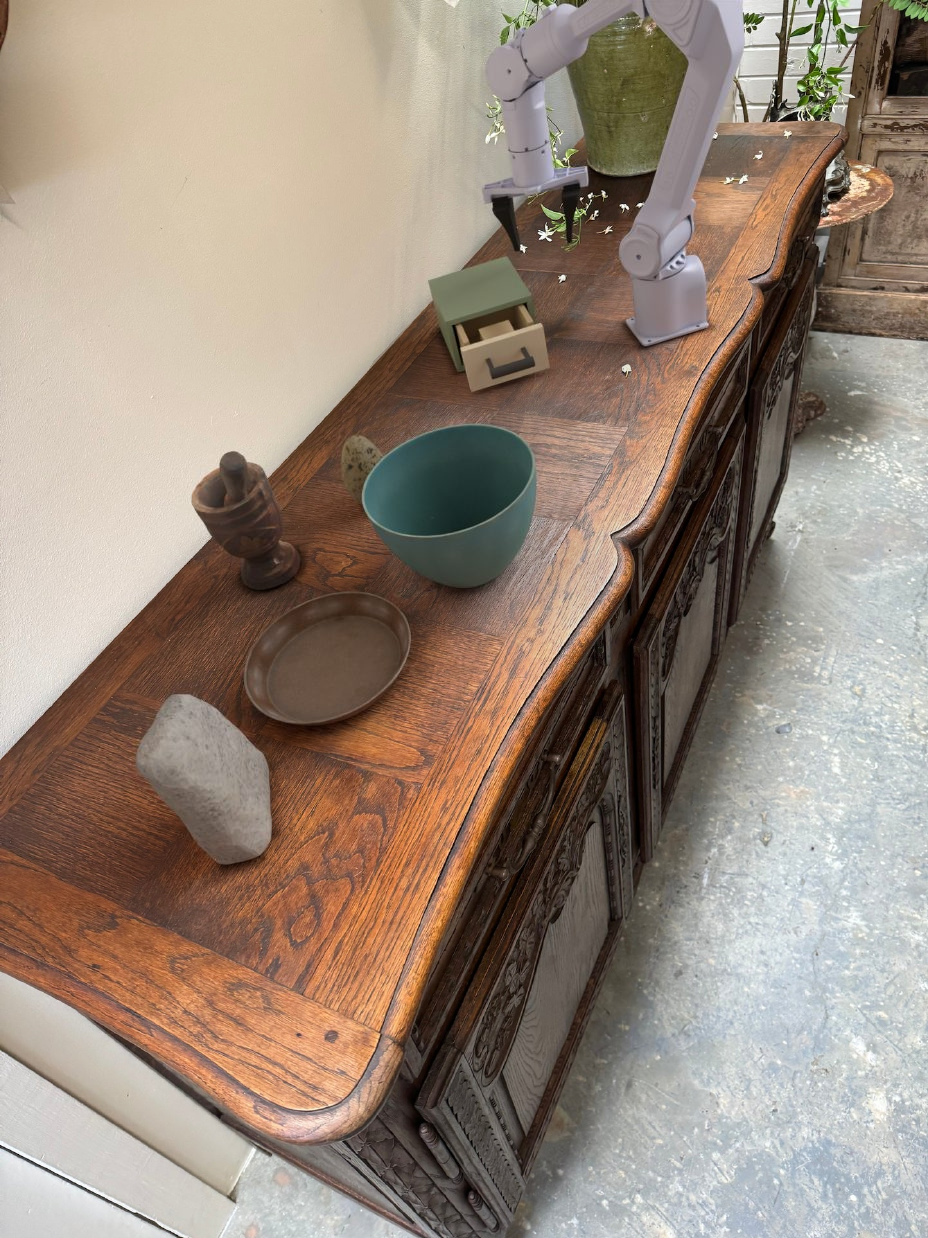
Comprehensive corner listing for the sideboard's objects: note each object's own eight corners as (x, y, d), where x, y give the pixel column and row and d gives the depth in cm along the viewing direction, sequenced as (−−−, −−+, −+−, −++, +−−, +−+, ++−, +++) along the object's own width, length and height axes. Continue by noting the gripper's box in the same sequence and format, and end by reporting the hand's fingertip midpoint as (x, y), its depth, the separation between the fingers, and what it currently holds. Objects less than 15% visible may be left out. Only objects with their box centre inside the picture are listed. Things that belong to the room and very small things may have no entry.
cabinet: (540, 347, 123) (531, 294, 117) (458, 372, 123) (445, 321, 117) (516, 305, 133) (506, 255, 127) (440, 328, 133) (427, 280, 127)
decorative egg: (349, 498, 107) (323, 434, 100) (392, 481, 108) (369, 416, 101) (361, 524, 103) (334, 459, 96) (405, 506, 104) (382, 440, 97)
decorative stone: (223, 768, 82) (148, 673, 71) (281, 756, 81) (215, 658, 71) (208, 871, 74) (123, 781, 64) (272, 858, 74) (197, 766, 63)
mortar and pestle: (339, 559, 100) (277, 418, 85) (297, 609, 95) (224, 469, 81) (268, 540, 105) (198, 405, 91) (224, 587, 101) (144, 453, 86)
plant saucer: (321, 592, 96) (311, 574, 94) (448, 631, 88) (442, 612, 85) (221, 709, 87) (209, 691, 85) (353, 765, 79) (343, 747, 76)
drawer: (558, 383, 113) (552, 341, 109) (478, 408, 113) (468, 367, 109) (525, 325, 126) (518, 285, 122) (453, 348, 126) (443, 309, 122)
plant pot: (407, 642, 88) (373, 558, 79) (383, 536, 101) (352, 453, 92) (572, 591, 88) (556, 501, 79) (527, 491, 101) (510, 404, 92)
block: (513, 347, 120) (508, 319, 117) (521, 362, 117) (516, 333, 114) (484, 356, 120) (478, 328, 117) (491, 371, 117) (485, 343, 114)
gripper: (472, 165, 111) (492, 264, 121) (581, 144, 108) (593, 248, 117) (478, 145, 116) (497, 242, 125) (583, 125, 112) (594, 226, 122)
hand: (543, 244), depth 122 cm, fingers open, 7 cm apart
